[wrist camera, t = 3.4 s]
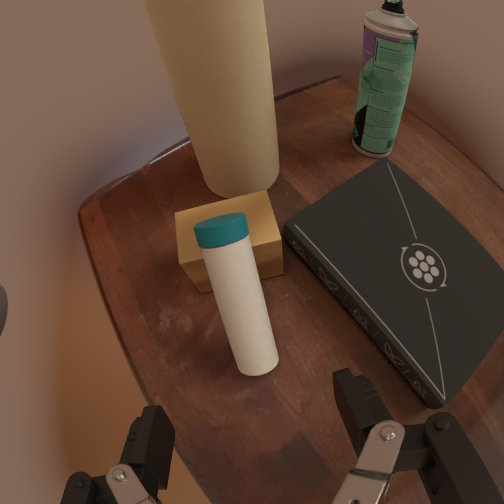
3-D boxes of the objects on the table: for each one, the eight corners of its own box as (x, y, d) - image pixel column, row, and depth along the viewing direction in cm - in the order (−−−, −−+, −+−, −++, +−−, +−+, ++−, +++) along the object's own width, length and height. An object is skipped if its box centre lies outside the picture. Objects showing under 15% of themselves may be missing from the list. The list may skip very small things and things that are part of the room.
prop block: (283, 274, 28) (281, 239, 23) (201, 293, 29) (178, 264, 23) (271, 230, 31) (266, 189, 25) (195, 249, 31) (174, 212, 25)
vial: (283, 372, 24) (278, 353, 15) (241, 381, 24) (209, 368, 15) (256, 260, 29) (238, 187, 20) (220, 269, 29) (186, 201, 20)
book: (282, 241, 30) (280, 224, 27) (379, 173, 33) (384, 155, 30) (427, 410, 20) (442, 410, 18) (507, 305, 23) (523, 295, 21)
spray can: (392, 136, 36) (418, 1, 18) (391, 162, 33) (425, 12, 16) (354, 126, 37) (366, -11, 20) (349, 152, 35) (364, -2, 17)
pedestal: (262, 208, 32) (220, -29, 11) (191, 189, 35) (113, -5, 14) (289, 152, 36) (274, -44, 15) (224, 139, 38) (181, -34, 17)
